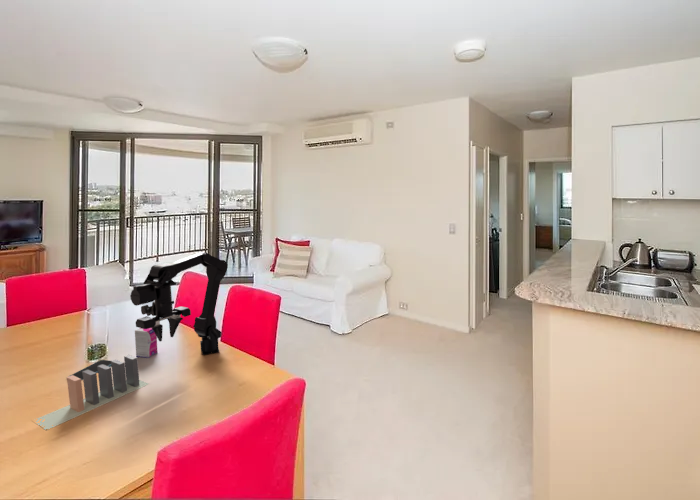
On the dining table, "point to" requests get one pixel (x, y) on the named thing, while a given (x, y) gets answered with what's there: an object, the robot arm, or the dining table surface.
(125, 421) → the dining table surface
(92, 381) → the domino
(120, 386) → the domino
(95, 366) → the smartphone
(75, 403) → the domino
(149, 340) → the supplement box
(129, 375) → the domino
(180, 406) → the dining table surface
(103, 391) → the domino
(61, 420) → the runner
